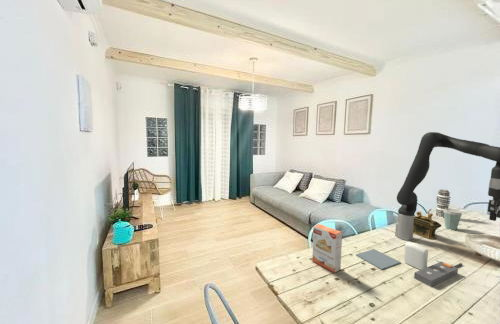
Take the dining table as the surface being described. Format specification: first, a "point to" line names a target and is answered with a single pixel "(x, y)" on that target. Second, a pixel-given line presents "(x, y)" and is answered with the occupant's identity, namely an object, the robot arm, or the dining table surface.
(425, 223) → the decorative box
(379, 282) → the dining table surface
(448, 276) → the power strip
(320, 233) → the cracker box
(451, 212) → the disposable coffee cup
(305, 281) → the dining table surface
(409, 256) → the photo printer
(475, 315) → the dining table surface
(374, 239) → the dining table surface
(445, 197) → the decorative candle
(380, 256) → the rubber mat
